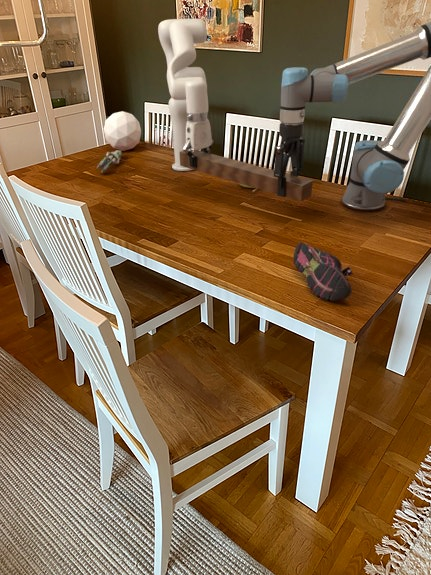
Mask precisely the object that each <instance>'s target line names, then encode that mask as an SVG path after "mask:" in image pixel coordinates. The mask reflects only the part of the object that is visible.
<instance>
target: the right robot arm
mask: <svg viewBox="0 0 431 575" xmlns="http://www.w3.org/2000/svg"><path fill="white" fill-rule="evenodd" d="M418 59H421V60H424V61H425V60H427V59H431V21H428V22H426V23H424V24H421V25H419V26H417V27H416V29H415V31H414V32H411V33H408V34H407V35H403V36H401V37H399V38H396V39H394V40H390V41H388V42H386V43H383V44H381V45H379V46H376V47H373V48H371V49H368V50H366V51H363V52H360V53H359V54H358V53H357V54H356V55H354V56H351V57H348V58H345V59H343V60H341V61H337V62H336V63H333V64H330V65H328V66H325V67H318V68H315V69H314V70H312V72H311V73H310V74H309V70H308V68H306V67H301V66H300V67H297V66H295V67H293V66H292V67H287V68H285V69H284V70H283V71H282V77H281V85H280V90H281V91H280V108H279V122H280V123H279V126H278V127H279V129H278V135H279V136H280V137H281V141H280V145H275V147H274V151H275V154H274V156H275V157H274V166H273V167H274V168H273V170H274V177H278V193H277V195H276V196H278V197H282V198H286V197H285V193H286V178H285V174H287V170H288V165H289V161H290V164H291V170H290V171H289V174H290V175H294V176H297V177H299V173H302V171H303V168H304V153H305V152H304V151H305V150H304V148H305V142H306V139H305V138H302V136H303V135H304V128H305V125H304V121H305V115H306V112H305V109H306V103H341V102H344V101H345V100H346V99H347V96H348V92H349V91H348V90H349V86H350V85H352V84H354V83H357V82H360V81H363V80H365V79H367V78H370V77H373V76H375V75H378V74H381V73H383V72H387V71H389V70H392V69H394V68H397V67H399V66H402V65H404V64H405V65H406V64H408V63H409V62H413V61H415V60H418ZM430 122H431V64H430V65H429V67H428V68H427V70H426V72H425V73H424V75H423V77H422V79H421V80H420V81H419V83H418V84H417V87H416V88H415V90H414V92H413V93H412V94H411V96H410V98H409V100H408V102H406V104H405V106H404V107H403V109H402V111H401V113H400V114H399V115H398V118H397V119H396V121H395V122H394V124H393V126H392V127H391V129H390V131H389V132H388V134H387V135H386V137H385V138H384V140H373V139H371V140H370V139H369V140H368V139H366V140H359V141H357V142H356V143H355V144H354V147H353V148H354V149H353V154H352V155H353V156H352V163H351V164H352V165H351V169H350V177H349V183H348V184H347V187H346V189H345V192H344V194H343V196H342V199H341V205H343V206H344V207H345V208H347V209H350V210H352V211H356V212H363V213H364V212H367V213H368V212H377V211H380V210H382V209H384V207H385V204H386V202H404V203H406V201H407V199H406V198H395V197H394V198H393V197H385V195H387V194H390V193H393V192H394V191H396V190H397V189H398V188H399V187H400V186H401V185H402V183H403V180H404V178H405V171H404V170H405V168H406V167H407V165H408V164H409V162H410V160H411V159H410V152H411V150H412V149H413V147H414V145H416V143H417V141H418V139H419V138H420V136H421V135H422V133H423V132H424V131H425V129H426V127H427V126H428V124H429V123H430Z"/></svg>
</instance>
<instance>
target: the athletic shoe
mask: <svg viewBox="0 0 431 575" xmlns="http://www.w3.org/2000/svg"><path fill="white" fill-rule="evenodd" d="M292 263H293V266H294V265H295V266H294V267H295V268H296V270H298V272H300V273H302V274H303V275H304V276H305V277H306V283H307V286H308V288H309V289H310V290H311V291H312V294H314V295H315V296H316V297H319V299H324V300H326V301H328V300H330V301H339V300H343V299H347V298H348V297H349V296H351V294H352V287H351V284H350V283H349V280H348V279H347V277H348V276H351V275H353V276H354V275H355V274H354V273H353V270H352V269H351V267H349V266H348V267H345V268H343V264H342V262H341V260H340V259H339V258H338V257H336V256H335V255H333V254H331V253H329V252H327V251H323V250H321V249H319V248H315V247H312V246H311V245H309V244H307V243H306V242H299V243H298V244H296V247H295V249H294V252H293V258H292Z"/></svg>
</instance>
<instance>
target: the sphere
mask: <svg viewBox="0 0 431 575" xmlns="http://www.w3.org/2000/svg"><path fill="white" fill-rule="evenodd" d="M103 134H104V138H105V141H106V142H107V143H108V144H109V145H110V146H111V147H112V148H113V149H115V150H118V151H119V150H120V151H121V152H125V151H128V150H131V149H133V148H135V147H136V146H137V145H138V144H139V143H140V142H141V136H142V129H141V123H140V121H139V120H138V119H137V118H136V117H135V115H134V114H132V113H130V112H127V111H123V110H122V111H118V112H117V111H116V112H113V113H112V114H111V115H110V116H108V117H107V118H106V119H105V121H104V126H103Z"/></svg>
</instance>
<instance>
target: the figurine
mask: <svg viewBox="0 0 431 575" xmlns="http://www.w3.org/2000/svg"><path fill="white" fill-rule="evenodd" d="M122 153H123V151H122V150H118V149H115V151H111V152H110V151H107V152H106V153H105V155H106V156H104V157H103V158H102V159H101V161H100V162H99V163H98V165H97V167H96V169H97V170H100V173H101V174H104V173H105V172H106V171H107V170H108V169H109V168H110V167H111V166H112V165H119V164H120V160H121V158H122V157H123V154H122Z"/></svg>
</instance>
